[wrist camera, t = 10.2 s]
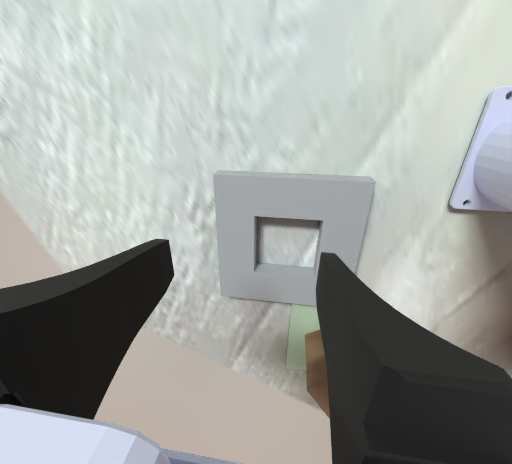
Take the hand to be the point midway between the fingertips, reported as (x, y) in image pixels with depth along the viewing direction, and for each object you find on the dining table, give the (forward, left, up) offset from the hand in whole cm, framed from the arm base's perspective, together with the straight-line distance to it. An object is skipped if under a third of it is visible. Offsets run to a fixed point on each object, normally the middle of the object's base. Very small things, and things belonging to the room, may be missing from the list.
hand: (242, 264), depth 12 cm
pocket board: (-2, +4, -10) cm, 11 cm away
